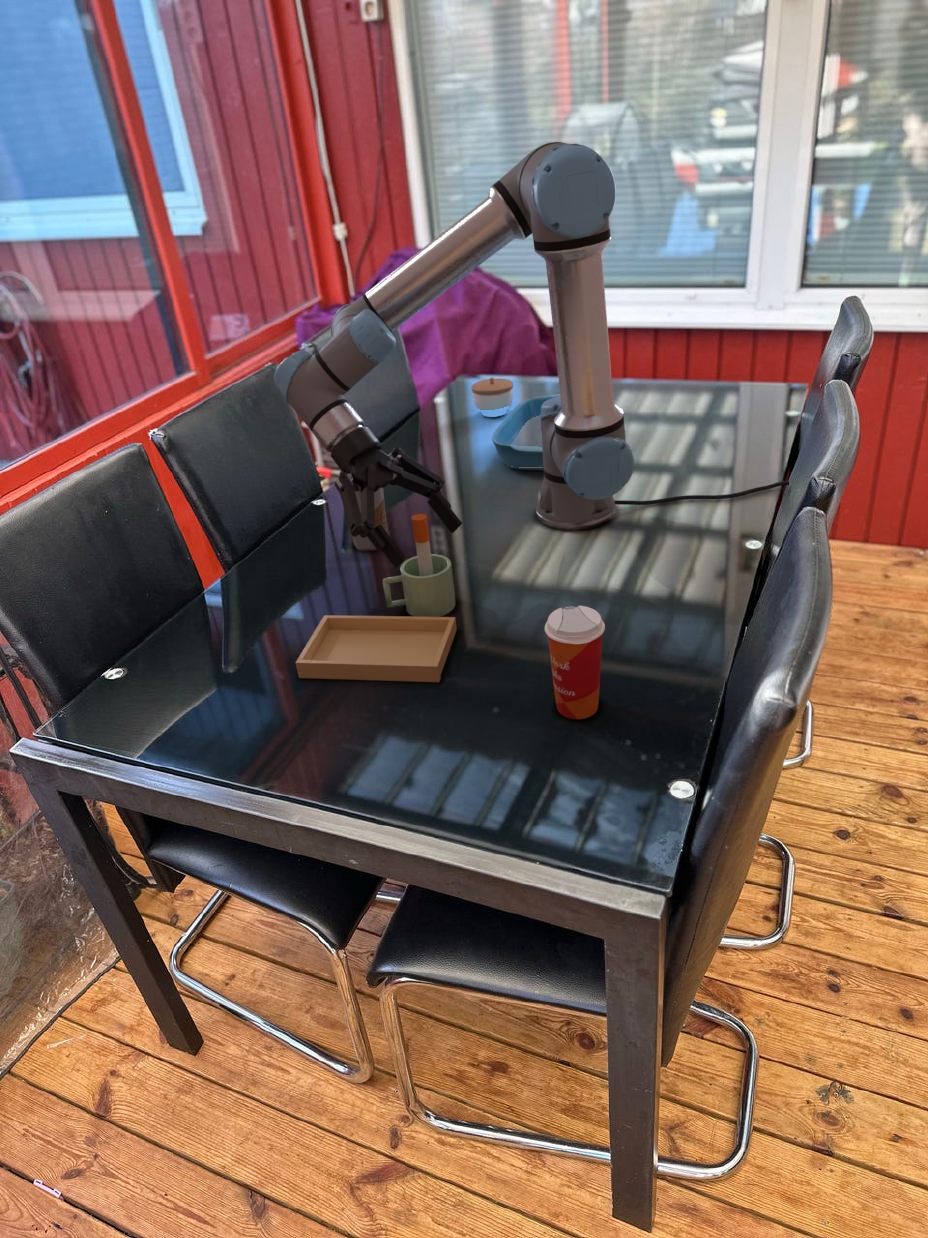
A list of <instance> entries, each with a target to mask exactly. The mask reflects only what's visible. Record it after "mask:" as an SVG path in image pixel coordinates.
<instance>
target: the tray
mask: <svg viewBox="0 0 928 1238" xmlns="http://www.w3.org/2000/svg"><path fill="white" fill-rule="evenodd" d="M457 628H458V627H457V619H456V616H440V617H414V616H400V615H399V616H397V615H341V614H339V615H334V614H333V615H331V614H330V615H329V614H328V615H327V614H326V615H324V614H323V617H322V618H321V620H320V621H319V623H318V625H317V626H316V628H315V630H314V631H313V633H312V635H311V636H310V637H309V640H308V641H307V643H306V645H305V646H304V648H303V650H302V651H301V653H300V655H299V656H298V657H297V659H296V660H295V667H296V671H297V675H298V679H315V680H316V679H319V680H348V681H349V680H351V681H381V682H382V681H383V682H386V681H387V682H414V683H416V682H417V683H418V682H419V683H440V682H441V679H442V672H443V670H444V667H445V664H446V661H447V658H448V655H449V653H450V650H451V647H452V645H453V641H454V639H455V636H456V633H457Z"/></svg>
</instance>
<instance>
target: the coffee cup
mask: <svg viewBox="0 0 928 1238" xmlns="http://www.w3.org/2000/svg"><path fill="white" fill-rule="evenodd" d="M341 473H344V472H343V471H342V470H341V469H340V471H339V473H338V476H339V475H340V474H341ZM345 474H347V473H345ZM353 487H354V490H355V494H356V498H357V501H358V505H359V509H360V513H361V498H360V497H359V486H358V485H356V484H354V483H353ZM374 510H375V528H376V526H378V525H379V524H381V526H382V527H383V528H384V529H385V531H386V532H387V528H388V527H387V514H386V502H385V495H384V487H383V488H380V489H379V490H378V491H376V492H374ZM387 533H388V532H387ZM351 537H352V542H353V545H354V547H355V548H356V549H357V550H359V551H378V550H377V549H376V547H375V546H374V545H373V544H372V542H371V541H370V540H369V538H368V537H367V536H366V538H362V537H361V536H360V535H358V536H356V537H354V536H352V535H351Z"/></svg>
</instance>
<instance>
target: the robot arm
mask: <svg viewBox="0 0 928 1238" xmlns="http://www.w3.org/2000/svg"><path fill="white" fill-rule="evenodd" d="M616 196H617V187H616V180H615V176H614V174H613V172H612V169H611V167H610V165H609V164H608V162H607V161H606V160H605V159H604V157H603V156H601V155H600V154H599V153H598V152H597V151H595V150H594V149H592V148H590V147H588V146H586V145H584V144H579V143H567V142H562V141H551V142H547V143H544V144H541V145H539V146H538V147H536V148H534V149H533V150H531V151H530V152H529V153H528V154H527V155H526V156H524V157H523V158H522V159H521V160H520V161H519V162H518V163H516V165H514V166H513V167H512V168H510V170H509V171H508V172H506V174H504V175H503V176H502V177H500V179H498V180H497V181H496V182H494V183H493V184H492V185H491V186H490V187H489V192H488V196H487V197H486V198H485V199H484V200H483V201H481V202H479V204H477V205H476V206H475V207H474V208H472V209H470V211H469V212H467V213H466V214H465V215H463V216H462V217H461V218H459V220H457V221H455V222H454V223H453V224H452V225H451V226H449V227H448V228H447V229H445V230H444V231H443V232H442V233H440V234H439V235H438V236H437V237H435V238H434V239H433V240H431V241H430V242H429V243H428V244H426V245H425V246H424V247H423V248H422V249H420V250H419V251H417V252H416V253H415V254H414V255H412V256H411V257H410V258H408V259H407V260H406V261H405V262H404V263H402V264H401V265H400V266H398V267H397V268H395V269H394V270H393V271H392V272H391V273H389V274H388V275H386V277H384V278H383V279H381V281H379V282H378V283H376V284H375V285H374V286H373V287H372V288H370V289H368V291H366V292H365V293H364V294H362V296H360V297H358V298H357V299H356V300H355V301H354V302H352V303H348V304H344V305H343V306H341V307H340V308H339V309H338V310H337V311H336V313H335V314H334V316H333V318H332V320H331V325H330V333H331V339H330V340H329V341H328V342H326V344H325V345H323V347H321V349H319V350H318V351H317V352H316V353H314V354H311V353H310V351H307V350H298V351H295V352H292V353H291V355H290V356H288V357H285V358H284V359H283V360H282V361H280V363H279V365H278V366H277V367H276V369H275V371H274V374H273V381H274V384H275V385H276V387H277V388H278V389H279V391H280V393H281V394H282V396H283V397H284V398H285V399H284V400H285V401H286V403H287V404H289V405H290V406H291V408H292V409H293V411H295V413H296V414H297V415H298V416H299V417H300V419H301V420H302V422H304V423H305V425H306V426H307V427H308V429H309V430H310V432H311V433H312V434H313V436H314V437H315V438H316V439H317V441H318V443H320V444H321V446H322V447H323V449H324V450H325V451H326V452H328V453H330V458H331V459H332V460H333V461H334V463H335V464H336V465H337V467H338V468H339V469H340V471H341V470H342V471H343V472H344V473H341V474H340V475H339V474H338V476H337V478H336V479H335V481H334V482H333V485H334V487H335V488H336V490H337V492H338V493H339V495H340V498H341V502H342V506H343V510H344V514H345V518H346V521H347V525H348V529H349V532H350V533H349V534H350V535H351V537H352V536H354V537H356V536H358V535H360V536H361V537H362V538H366V536H367V537H368V538H369V540H370V541H371V542H372V544H373V545H374V546H375V547H376V549H377V550H376V551H379V552H380V551H382V553H383V554H384V555H385V556H386V558H387V559H388V560H389V561H390V563H391V564H392V565H393V567H394V569H396V568H398V567H399V566H401V565H402V564H403V563H404V562H405V561H406V560H407V556H406V555H405V554H404V553H403V551H402V550H401V549H400V547H399V546H398V545H397V543H396V542H395V541H394V539H392V538H393V537H391V536H390V535H389V533H388V532H386V531H387V530H386V531H385V529H384V528H383V527H382V526H381V524H379V525H378V526H376V528H375V510H374V492H376V491H378V490H379V489H380V488H383V489H384V488H386V487H388V486H389V485H390V486H398V487H401V488H404V489H406V490H407V491H411V492H413V493H415V494H418V495H419V496H422V497H425V498H428V501H427V504H428V505H429V507H430V508H431V509H432V510H433V512H434V513H435V515H437V517H438V518H439V520H441V522H442V523H443V524H444V526H445V527H446V528H447V529H448V530H449V532H450V534H453V533H455V532H456V531H457V530H458V529H459V528H460V527H461V525H463V522H462V520H460V518H459V517H458V515H456V513H455V512H454V511H453V509H452V505H451V503H450V501H449V500H448V499H447V498H446V496H445V495H444V494H443V492H442V491H441V490H442V489H443V486H444V485H445V483H446V481H445V479H444V478H442V477H441V476H440V475H438V474H436V473H435V472H434V471H432V470H430V469H429V468H428V467H426V466H424V465H423V464H422V463H420V462H418V461H417V460H415V459H414V458H412V457H411V456H409V455H408V454H407V453H406V452H405V451H404V450H403V449H402V448H401V447H400V446H397V445H396V446H395V447H394V448H393V449H392V451H390V452H389V453H388V454H387V453H386V452H384V451H383V449H382V447H381V442H380V440H379V439H378V438H377V437H376V435H375V434H374V433H373V431H372V430H371V429H370V428H369V427H367V426H365V420H363V418H362V417H361V416H360V415H359V414H358V413H357V411H356V410H355V409H354V408H353V406H352V405H351V404H350V402H349V401H348V400H347V398H345V394H347V393H348V392H349V391H350V390H351V389H352V388H353V387H354V386H355V385H357V384H358V383H359V382H360V381H361V380H362V379H363V378H365V377H366V376H367V375H368V374H369V373H370V372H371V371H372V370H374V369H375V368H376V367H377V366H378V365H379V364H380V363H383V362H384V361H385V360H386V359H387V356H389V355H390V353H392V352H393V351H394V349H395V348H396V346H397V340H396V337H395V336H394V334H393V332H394V331H395V330H397V329H398V328H399V327H401V326H403V324H405V323H406V322H407V321H409V320H410V319H411V318H413V317H414V316H415V315H416V314H418V313H419V312H421V311H422V310H423V309H424V308H425V307H427V306H428V305H430V304H431V303H433V301H435V300H436V299H438V298H439V297H440V296H441V295H443V294H445V292H447V291H448V290H449V289H450V288H452V287H453V286H455V285H456V284H457V283H459V282H460V281H461V280H463V278H465V277H466V276H468V275H469V274H470V273H471V272H473V271H474V270H476V268H478V267H479V266H481V265H482V264H483V263H485V262H486V261H487V260H489V259H490V258H492V257H493V256H494V255H495V254H497V253H498V252H499V251H500V250H502V249H503V248H504V247H506V246H507V245H508V244H510V243H511V242H512V241H514V240H522V241H524V240H525V239H527V238H528V237H529V236H531V235H532V241H533V247H534V248H533V250H534V252H535V253H536V254H537V255H538V256H540V257H541V258H542V259H544V261H545V269H546V276H547V277H546V278H547V285H548V295H549V303H550V305H549V306H550V312H551V322H552V332H553V340H554V349H555V359H556V369H557V378H558V385H559V387H558V388H559V394H560V397H555V398H552V399H549V400H547V401H545V402H544V403H543V404H542V406H541V417H540V420H541V431H542V450H543V468H544V471H543V480H542V484H541V487H540V490H539V491H538V494H537V501H536V506H535V513H536V519H537V521H538V522H540V523H541V524H542V525H544V526H545V527H549V528H552V529H556V530H564V531H580V530H581V531H582V530H589V529H593V528H597V527H600V526H603V525H605V524H607V523H608V522H610V521H611V520H612V519H614V517H615V515H616V506H617V505H618V506H619V505H621V506H622V505H623V506H624V505H628V506H632V505H633V506H648V505H649V506H650V505H658V504H665V503H670V502H675V501H686V500H688V501H689V500H726V499H735V498H739V497H743V496H746V495H751V494H753V493H757V492H762V491H767V490H768V491H769V490H771V489H774V488H778V487H781V486H789V480H782V481H781V480H780V481H777V482H773V483H771V484H768V485H762V486H757V487H753V488H750V489H746V490H742V491H738V492H734V493H728V494H690V495H689V494H687V495H686V494H685V495H677V496H669V497H664V498H658V499H651V500H623V499H621V500H615V498H614V495H616V494H618V493H619V492H621V490H622V489H623V488H624V487H625V486H626V485H627V484H628V483H629V481H630V479H631V478H632V476H633V473H634V469H635V457H634V454H633V451H632V450H633V449H632V448H631V446H630V445H629V444H628V443H627V441H626V440H627V439H626V429H625V428H626V427H625V414H624V410H623V408H621V407H620V406H618V404H616V403H615V402H614V393H613V381H612V378H613V377H612V366H611V355H610V340H609V329H608V327H609V326H608V313H607V304H606V303H607V302H606V300H607V299H606V289H605V277H604V276H605V275H604V264H603V251H604V249H605V248H606V247H607V245H608V244H609V242H610V241H611V240H612V235H611V221H610V220H611V219H610V217H611V214H612V212H613V210H614V207H615V203H616ZM345 473H347V474H345ZM353 483H354V484H356V485H358V486H359V497H360V498H361V513H360V509H359V505H358V501H357V498H356V494H355V490H354V487H353Z"/></svg>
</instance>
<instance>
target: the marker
mask: <svg viewBox="0 0 928 1238" xmlns="http://www.w3.org/2000/svg"><path fill="white" fill-rule="evenodd" d="M411 524H412V532H413V539H414V543H415V549H416V556H417V557H418V565H419V572H420V576H429V575H434V574H433V566H432V558H431V554H432V552H431V551H432V550H431V543H430V537H431V536H430V529H429V523H428V516H427V515H426V514H425V513H416V514H414V515H412V516H411Z"/></svg>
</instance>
